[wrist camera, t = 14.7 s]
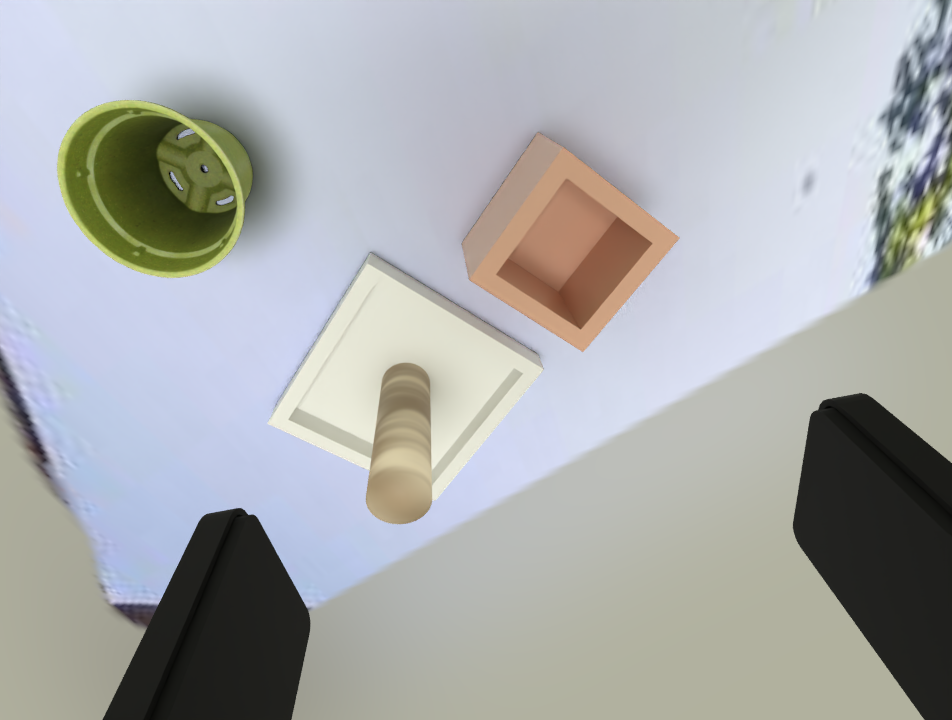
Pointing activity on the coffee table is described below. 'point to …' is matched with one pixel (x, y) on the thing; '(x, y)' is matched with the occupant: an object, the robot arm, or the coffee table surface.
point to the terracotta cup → (563, 244)
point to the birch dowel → (402, 447)
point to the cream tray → (404, 341)
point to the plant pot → (154, 187)
